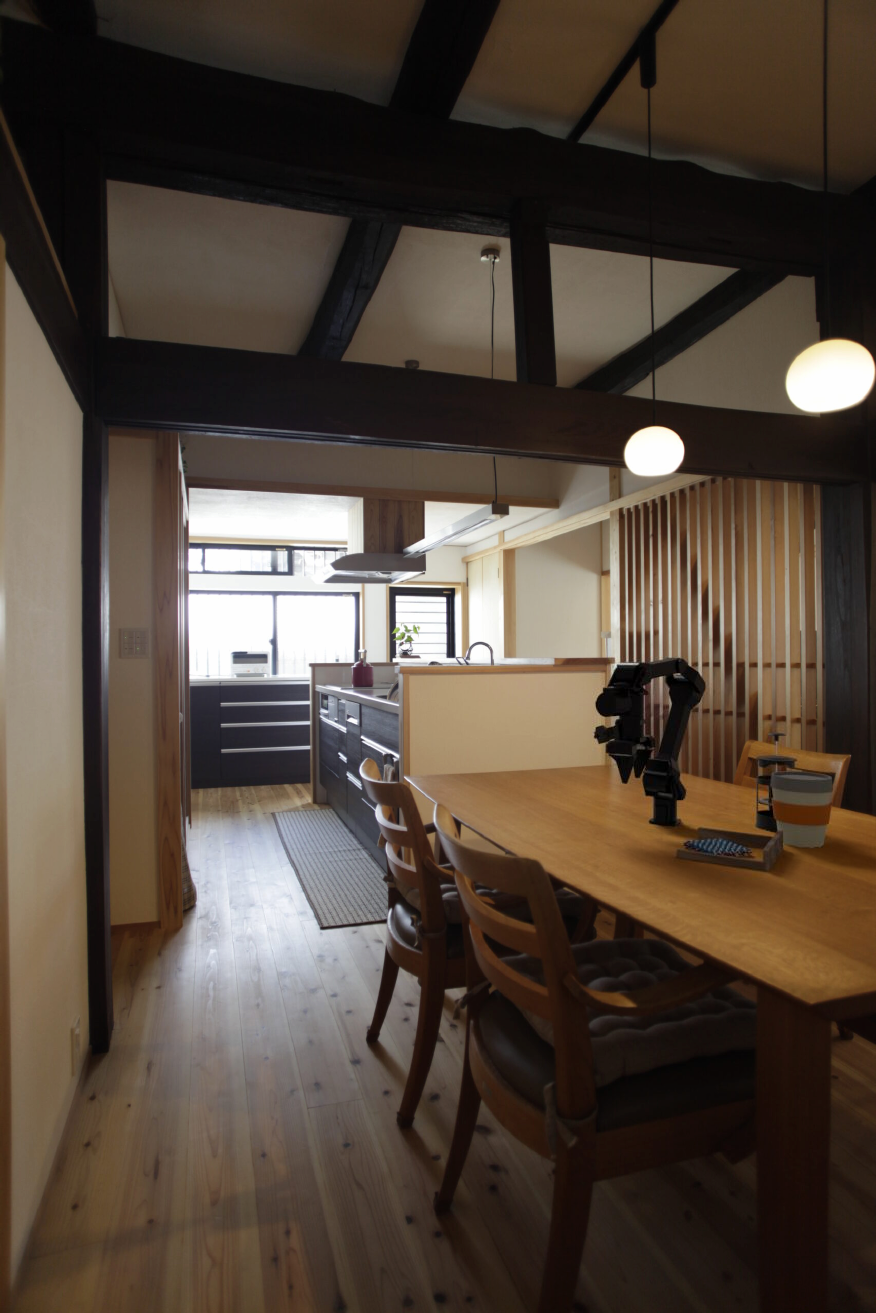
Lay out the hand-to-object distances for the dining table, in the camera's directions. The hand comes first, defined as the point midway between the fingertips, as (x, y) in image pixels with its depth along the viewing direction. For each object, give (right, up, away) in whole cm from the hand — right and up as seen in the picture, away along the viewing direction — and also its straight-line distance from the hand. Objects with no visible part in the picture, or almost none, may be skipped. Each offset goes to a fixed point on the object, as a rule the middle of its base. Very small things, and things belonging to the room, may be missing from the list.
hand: (631, 780), depth 172 cm
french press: (+37, -12, +5) cm, 39 cm away
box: (+15, -12, -18) cm, 27 cm away
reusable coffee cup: (+35, -12, -10) cm, 39 cm away
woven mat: (+14, -13, -17) cm, 25 cm away
